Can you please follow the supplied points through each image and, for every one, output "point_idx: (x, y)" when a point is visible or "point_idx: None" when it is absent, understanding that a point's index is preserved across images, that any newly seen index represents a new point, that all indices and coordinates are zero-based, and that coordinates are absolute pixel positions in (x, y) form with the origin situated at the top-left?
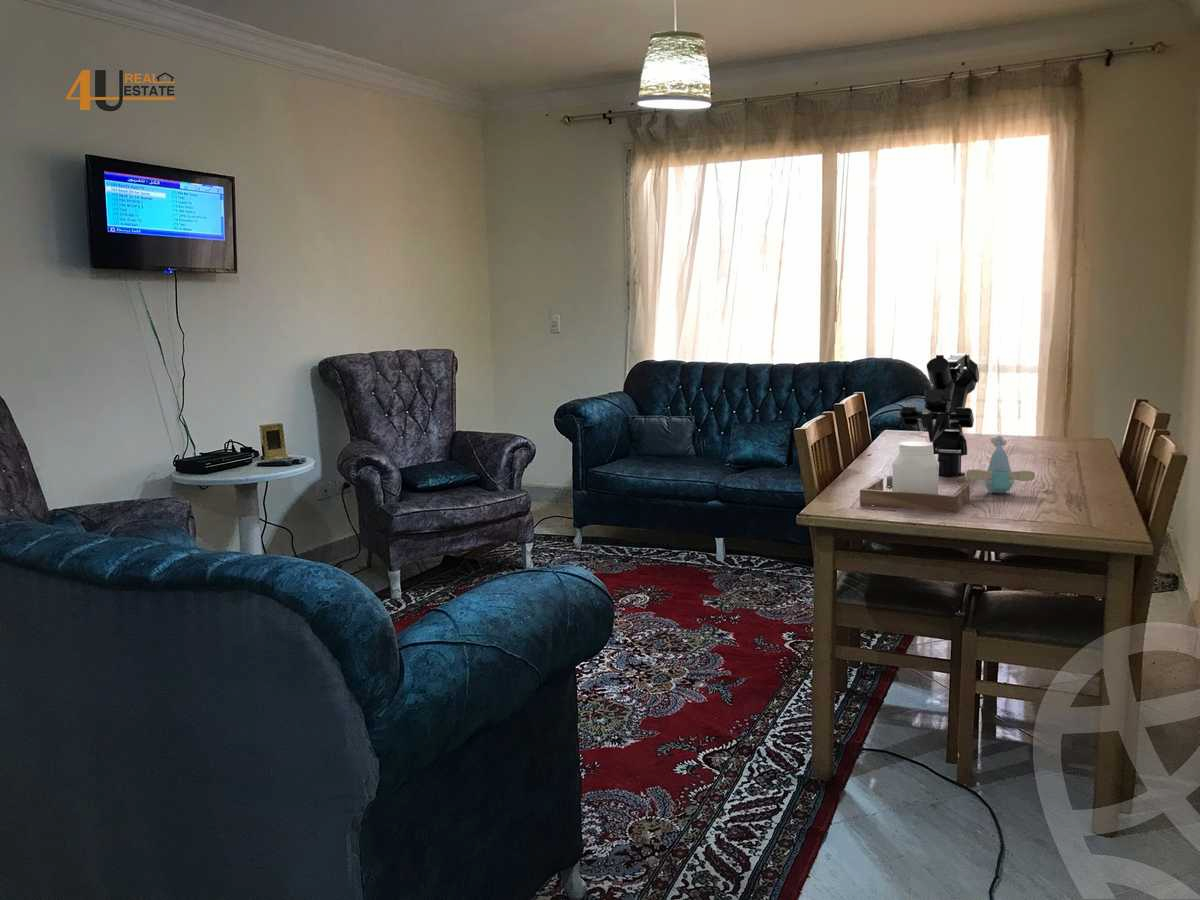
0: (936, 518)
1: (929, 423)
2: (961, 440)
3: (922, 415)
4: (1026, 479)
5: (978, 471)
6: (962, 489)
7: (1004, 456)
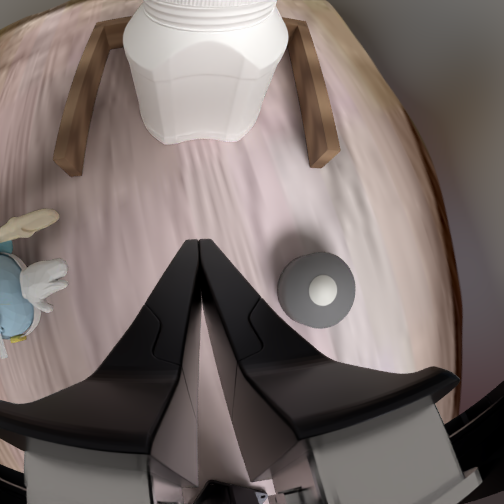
0: (136, 10)
1: (268, 350)
2: None
3: (431, 369)
4: None
5: (16, 217)
6: (74, 81)
7: None
